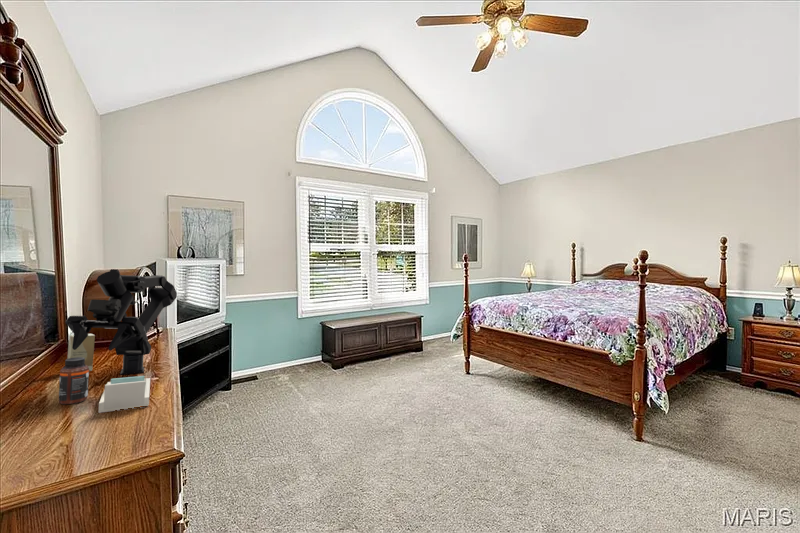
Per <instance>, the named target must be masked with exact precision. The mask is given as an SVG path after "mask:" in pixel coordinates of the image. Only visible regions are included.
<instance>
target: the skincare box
mask: <svg viewBox="0 0 800 533" xmlns="http://www.w3.org/2000/svg"><path fill="white" fill-rule="evenodd" d="M68 336H69V338H68V347H67V358H66V359H69V358H76V357H83V358H85V365H87V366H88V367H89V372H92V371H93V365H94V352H95V340H96V338H95V337H96V335H95V334H93V333H88V336H87V337H86V339H85V340H84V341H83V342H82V343H81V345H80V346H79V347H78V348H77V349H76V350H73V348H72V346H73V338H74V334H70V335H68Z"/></svg>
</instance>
